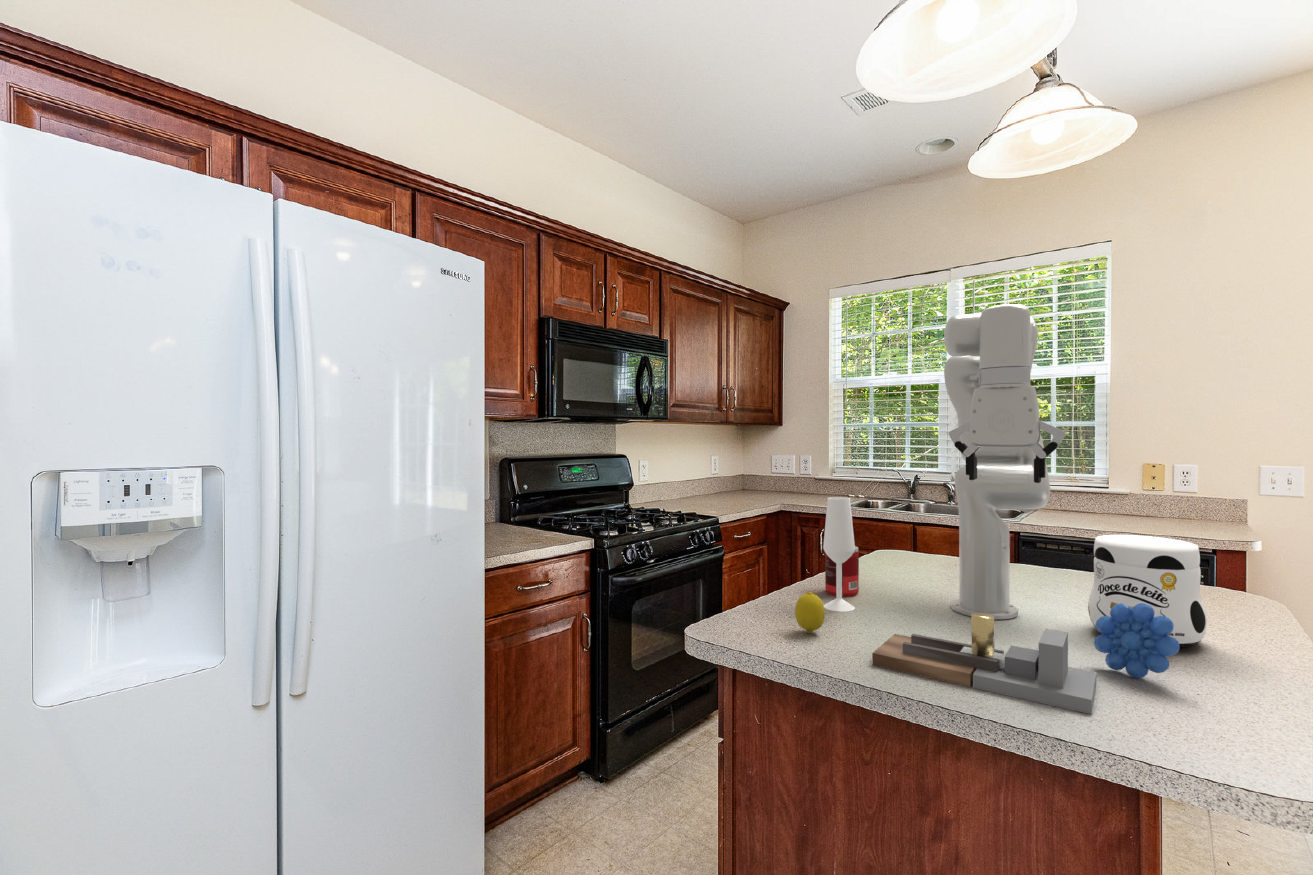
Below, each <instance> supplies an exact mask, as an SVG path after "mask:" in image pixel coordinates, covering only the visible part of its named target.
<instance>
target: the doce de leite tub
mask: <svg viewBox="0 0 1313 875" xmlns="http://www.w3.org/2000/svg"><path fill="white" fill-rule="evenodd" d="M1093 556H1094V558H1093V572H1094V573H1093V575H1094V576H1093V584H1092V588H1091V590H1090V594H1089V597H1088V602H1087V610H1088V615H1089V618H1090V622H1091V624H1092V626H1094V627H1095V628H1096V621H1097V620H1098V619H1099V618H1100V617H1102V616H1110V617H1111V615H1110V610H1111V608H1112V607H1113V606H1115V605H1116V604H1120V603H1122V604H1125V605H1128V606H1129V607H1130V608H1131V610H1132V608H1133V607H1134V606H1135V605H1137V604H1140V603H1144V604H1148V605H1150V606H1151V607H1152V608H1153V609H1154V613H1155V615H1154V617H1156V616H1164V617H1167V618H1169V619H1170V620H1171V621H1172V622H1173V626H1174V628H1173V631H1172V632H1171V633H1170V634H1168V635H1167V636H1170V637H1173V638H1175V639H1176V640H1177V641H1178V642H1179V644H1180V648H1183V647H1191V646H1193V645H1197V644H1198V643H1199V644H1200V642H1202V641H1203V639H1204V637H1205V634H1206V633H1207V632H1206V630H1207V626H1208V625H1207V624H1208V619H1207V614H1206V613H1207V612H1206V609H1205V606H1204V603H1203V600H1202V596H1201V576H1202V575H1201V574H1202V572H1201V571H1202V569H1201V567H1200V565H1201V556H1200V547H1199V545H1198V544H1195V543H1193V542H1189V541H1187V540H1186V541H1184V540H1180V539H1173V538H1167V537H1160V536H1159V537H1158V536H1151V535H1137V534H1136V535H1135V534H1134V535H1133V534H1104V535H1097V536H1096V537H1095V538H1094V544H1093Z"/></svg>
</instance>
